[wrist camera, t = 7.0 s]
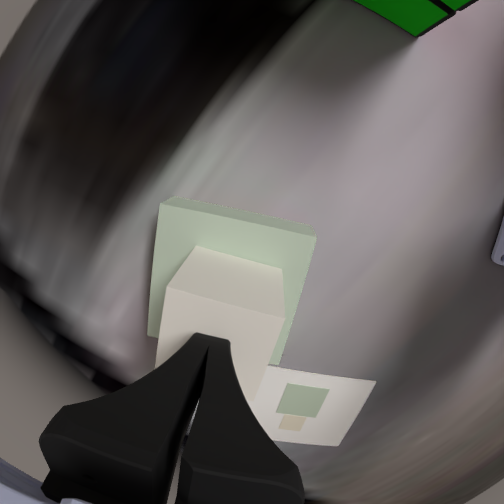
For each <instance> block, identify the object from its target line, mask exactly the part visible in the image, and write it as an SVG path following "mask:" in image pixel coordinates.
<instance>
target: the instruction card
mask: <svg viewBox="0 0 504 504" xmlns="http://www.w3.org/2000/svg"><path fill="white" fill-rule="evenodd" d="M375 384H376V381H372V380H363V379H354V378H346V377H338V376H331V375H323V374H317V373H310V372H304V371H298V370H292V369H286V368H280V367H274V366H269V365H268V366H267V368H266V371H265V374H264V376H263V379H262V381H261V384H260V386H259V389H258V391H257V394H256V396H255V399H254V401H249V400H246V401H247V403H248V405H249V406H250V408H251V410H252V412H253V414H254V415H255V417H256V419H257V420H258V422H259V423H260V425H261V426H262V428H263V429H264V430H265V432H266V433H267V434H268V436H269V437H270V438H271V440H276V441H284V442H292V443H302V444H312V445H324V446H339V444H340V443H341V441H342V439H343V438H344V436H345V435H346V433H347V432H348V430H349V428H350V427H351V425H352V424H353V422H354V420H355V419H356V417H357V415H358V414H359V412H360V410H361V409H362V407H363V405H364V403H365V402H366V400H367V398H368V396H369V395H370V393H371V391H372V389H373V387H374V386H375Z"/></svg>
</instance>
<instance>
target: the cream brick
mask: <svg viewBox="0 0 504 504" xmlns="http://www.w3.org/2000/svg"><path fill="white" fill-rule="evenodd" d="M284 321H285V306H284V290H283V275H282V269H280V268H277V267H273V266H269V265H266V264H262V263H258V262H254V261H251V260H247V259H243V258H240V257H236V256H232V255H229V254H225V253H221V252H218V251H214V250H211V249H207V248H203V247H200V246H195V248H194V249H193V250H192V252H191V253H190V255H189V256H188V257H187V259H186V260H185V261H184V263H183V264H182V266H181V267H180V268H179V270H178V271H177V273H176V274H175V275H174V277H173V278H172V280H171V281H170V282H169V284H168V285H167V287H166V293H165V300H164V306H163V312H162V319H161V326H160V333H159V340H158V347H157V355H156V363H155V369H156V368H157V367H159V366H160V365H161V364H163V363H164V362H165V361H166V360H168V359H169V358H170V357H171V356H172V355H173V354H174V353H176V352H177V351H178V350H179V349H180V348H181V347H182V346H183V345H184V344H185V343H186V342H187V341H188V340H189V339H190V337H191V336H192V335H193V334H194V333H196V332H198V333H202V334H206V335H210V336H215V337H219V338H223V339H228V340H229V341H230V343H231V355H232V360H233V365H234V368H235V372H236V375H237V378H238V381H239V384H240V387H241V389H242V392H243V394H244V396H245V398H246V400H249V401H254V399H255V396H256V394H257V391H258V389H259V386H260V384H261V381H262V379H263V376H264V374H265V371H266V368H267V366H268V363H269V361H270V358H271V356H272V353H273V350H274V348H275V345H276V342H277V340H278V337H279V334H280V332H281V329H282V326H283V324H284Z"/></svg>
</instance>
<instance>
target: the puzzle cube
mask: <svg viewBox="0 0 504 504" xmlns="http://www.w3.org/2000/svg"><path fill="white" fill-rule="evenodd" d="M353 1H355V2H357V3H359V4H361V5H363V6H365V7H367V8H368V9H370V10H372V11H374V12H376V13H377V14H379V15H381V16H383V17H384V18H386V19H388V20H389V21H391V22H393V23H394V24H396V25H398V26H399V27H401V28H402V29H404V30H406V31H407V32H409V33H410V34H412V35H413V36H415V37H419V36H422V35H424V34H425V33H427V32H428V31H430V30H432V29H433V28H435V27H436V26H438V25H439V24H441V23H443V22H444V21H446V20H447V19H449V18H451V17H452V16H454V15H455V14H456V11H462V10H463V9H465V8H467V7H468V6H470V5H471V4H473V3H475V2H476V1H478V0H353Z"/></svg>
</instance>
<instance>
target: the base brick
mask: <svg viewBox="0 0 504 504" xmlns="http://www.w3.org/2000/svg"><path fill="white" fill-rule="evenodd" d="M316 240H317V236H316V234H315V232H314V230H313V228H312V226H311V225H307V224H303V223H299V222H294V221H290V220H286V219H281V218H277V217H272V216H268V215H263V214H259V213H254V212H250V211H245V210H240V209H236V208H231V207H226V206H221V205H217V204H212V203H207V202H202V201H197V200H192V199H187V198H182V197H177V196H173V197H171V198H170V199H168V200H166V201H164V202H162V203H160V208H159V216H158V223H157V231H156V239H155V248H154V257H153V267H152V277H151V288H150V301H149V315H148V331H147V336H151V337H154V338H158V339H159V333H160V326H161V319H162V312H163V306H164V300H165V293H166V287H167V285H168V284H169V282H170V281H171V280H172V278H173V277H174V275H175V274H176V273H177V271H178V270H179V268H180V267H181V266H182V264H183V263H184V261H185V260H186V259H187V257H188V256H189V255H190V253H191V252H192V250H193V249H194V248H195V246H200V247H203V248H207V249H211V250H214V251H218V252H221V253H225V254H229V255H232V256H236V257H240V258H243V259H247V260H251V261H254V262H258V263H262V264H266V265H269V266H273V267H277V268H280V269H282V275H283V290H284V306H285V321H284V324H283V326H282V329H281V332H280V334H279V337H278V340H277V342H276V345H275V348H274V350H273V353H272V356H271V358H270V361H269V364H274V365H279V362H280V359H281V356H282V353H283V350H284V347H285V344H286V341H287V338H288V334H289V331H290V328H291V325H292V322H293V319H294V315H295V312H296V309H297V306H298V302H299V299H300V296H301V292H302V289H303V286H304V282H305V279H306V275H307V272H308V268H309V265H310V261H311V258H312V254H313V251H314V247H315V244H316Z"/></svg>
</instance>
